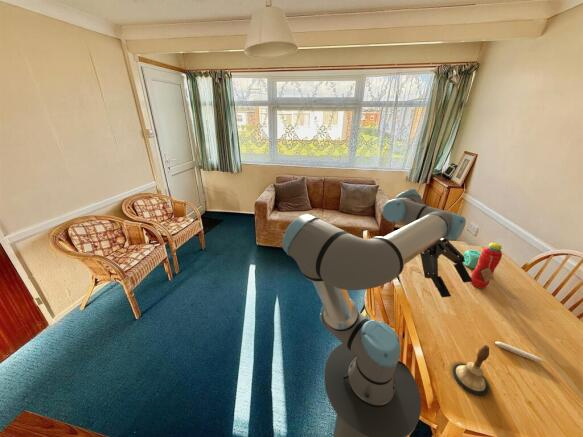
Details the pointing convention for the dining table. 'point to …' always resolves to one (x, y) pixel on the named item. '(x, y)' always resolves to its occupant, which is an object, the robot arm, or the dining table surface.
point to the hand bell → (474, 371)
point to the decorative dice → (471, 258)
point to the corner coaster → (469, 388)
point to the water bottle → (486, 265)
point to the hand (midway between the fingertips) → (457, 289)
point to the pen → (519, 352)
